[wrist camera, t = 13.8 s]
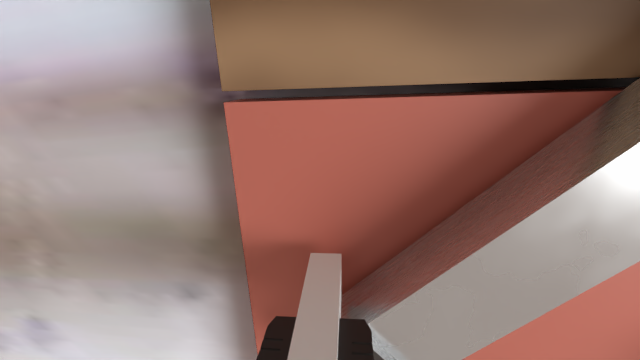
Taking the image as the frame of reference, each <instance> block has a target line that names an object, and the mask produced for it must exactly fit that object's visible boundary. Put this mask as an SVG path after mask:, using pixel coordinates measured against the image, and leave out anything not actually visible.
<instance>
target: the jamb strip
mask: <svg viewBox="0 0 640 360" xmlns="http://www.w3.org/2000/svg"><path fill="white" fill-rule="evenodd" d="M210 6H211V13H212V21H213V28H214V35H215V43H216V50H217V58H218V65H219V72H220V80H221V87H222V91H244V90H274V89H303V88H333V87H363V86H393V85H423V84H452V83H482V82H512V81H542V80H572V79H601V78H631V77H640V0H210Z"/></svg>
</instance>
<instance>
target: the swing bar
mask: <svg viewBox="0 0 640 360" xmlns="http://www.w3.org/2000/svg"><path fill="white" fill-rule="evenodd" d="M639 261H640V78H639V79H637V80H636V81H635V82H633V83H632V84H631V85H629V86H628V87H626V88H625V89H624V90H622V91H621V92H620V93H618V94H617V95H616V96H614V97H613V98H611V99H610V100H609V101H607V102H606V103H605V104H603V105H602V106H600V107H599V108H598V109H596V110H595V111H594V112H592V113H591V114H589V115H588V116H587V117H585V118H584V119H583V120H581V121H580V122H579V123H577V124H576V125H574V126H573V127H572V128H570V129H569V130H568V131H566V132H565V133H563V134H562V135H561V136H559V137H558V138H557V139H555V140H554V141H552V142H551V143H550V144H548V145H547V146H546V147H544V148H543V149H541V150H540V151H539V152H537V153H536V154H535V155H533V156H532V157H531V158H529V159H528V160H526V161H525V162H524V163H522V164H521V165H520V166H518V167H517V168H515V169H514V170H513V171H511V172H510V173H509V174H507V175H506V176H504V177H503V178H502V179H500V180H499V181H498V182H496V183H495V184H494V185H492V186H491V187H489V188H488V189H487V190H485V191H484V192H483V193H481V194H480V195H478V196H477V197H476V198H474V199H473V200H472V201H470V202H469V203H467V204H466V205H465V206H463V207H462V208H461V209H459V210H458V211H457V212H455V213H454V214H452V215H451V216H450V217H448V218H447V219H446V220H444V221H443V222H441V223H440V224H439V225H437V226H436V227H435V228H433V229H432V230H430V231H429V232H428V233H426V234H425V235H424V236H422V237H421V238H420V239H418V240H417V241H415V242H414V243H413V244H411V245H410V246H409V247H407V248H406V249H404V250H403V251H402V252H400V253H399V254H398V255H396V256H395V257H393V258H392V259H391V260H389V261H388V262H387V263H385V264H384V265H382V266H381V267H380V268H378V269H377V270H376V271H374V272H373V273H372V274H370V275H369V276H367V277H366V278H365V279H363V280H362V281H361V282H359V283H358V284H356V285H355V286H354V287H352V288H351V289H350V290H348V291H347V292H345V293H344V294H343V295H342V306H341V318H345V319H365V320H366V322H367V324H368V326H369V327H370V329H371V333H372V346H373V356H374V360H462V359H464V358H466V357H467V356H469V355H471V354H473V353H475V352H477V351H478V350H480V349H482V348H484V347H486V346H487V345H489V344H491V343H493V342H495V341H496V340H498V339H500V338H502V337H504V336H505V335H507V334H509V333H511V332H513V331H514V330H516V329H518V328H520V327H522V326H524V325H525V324H527V323H529V322H531V321H533V320H534V319H536V318H538V317H540V316H542V315H543V314H545V313H547V312H549V311H551V310H552V309H554V308H556V307H558V306H560V305H561V304H563V303H565V302H567V301H569V300H571V299H572V298H574V297H576V296H578V295H580V294H581V293H583V292H585V291H587V290H589V289H590V288H592V287H594V286H596V285H598V284H599V283H601V282H603V281H605V280H607V279H608V278H610V277H612V276H614V275H616V274H618V273H619V272H621V271H623V270H625V269H627V268H628V267H630V266H632V265H634V264H636V263H637V262H639Z"/></svg>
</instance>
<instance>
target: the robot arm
mask: <svg viewBox="0 0 640 360" xmlns="http://www.w3.org/2000/svg"><path fill="white" fill-rule="evenodd" d="M341 306H342V265H341V254H335V253H311V254H310V258H309V263H308V267H307V272H306V276H305V281H304V285H303V290H302V294H301V299H300V304H299V308H298V313H297V317H287V316H276V317H275V318H274V319H273V320H272V321H271V322H270V324H269V325H268V326H267V329H266V332H265V335H264V340H263V341H262V344H261V347H260V350H259V353H258V356H257V360H374V356H373V346H372V333H371V329H370V327H369V326H368V324H367V322H366V320H365V319H345V318H341Z"/></svg>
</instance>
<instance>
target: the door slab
mask: <svg viewBox="0 0 640 360" xmlns="http://www.w3.org/2000/svg"><path fill="white" fill-rule="evenodd" d="M625 88H626V87H618V88H585V89H552V90H520V91H487V92H455V93H422V94H390V95H357V96H324V97H292V98H259V99H240V100H234V101H229V102H224V109H225V117H226V124H227V132H228V139H229V146H230V154H231V161H232V168H233V176H234V183H235V191H236V198H237V205H238V213H239V220H240V228H241V235H242V242H243V250H244V257H245V264H246V272H247V279H248V287H249V294H250V301H251V309H252V316H253V324H254V331H255V338H256V346H257V353H259V350H260V347H261V344H262V341H263V340H264V335H265V332H266V329H267V326H268V325H269V324H270V322H271V321H272V320H273V319H274V318H275V317H276V316H287V317H297V313H298V308H299V304H300V299H301V294H302V290H303V285H304V281H305V276H306V272H307V267H308V263H309V258H310V254H311V253H335V254H341V265H342V295H343V294H344V293H345V292H347V291H348V290H350V289H351V288H352V287H354V286H355V285H356V284H358V283H359V282H361V281H362V280H363V279H365V278H366V277H367V276H369V275H370V274H372V273H373V272H374V271H376V270H377V269H378V268H380V267H381V266H382V265H384V264H385V263H387V262H388V261H389V260H391V259H392V258H393V257H395V256H396V255H398V254H399V253H400V252H402V251H403V250H404V249H406V248H407V247H409V246H410V245H411V244H413V243H414V242H415V241H417V240H418V239H420V238H421V237H422V236H424V235H425V234H426V233H428V232H429V231H430V230H432V229H433V228H435V227H436V226H437V225H439V224H440V223H441V222H443V221H444V220H446V219H447V218H448V217H450V216H451V215H452V214H454V213H455V212H457V211H458V210H459V209H461V208H462V207H463V206H465V205H466V204H467V203H469V202H470V201H472V200H473V199H474V198H476V197H477V196H478V195H480V194H481V193H483V192H484V191H485V190H487V189H488V188H489V187H491V186H492V185H494V184H495V183H496V182H498V181H499V180H500V179H502V178H503V177H504V176H506V175H507V174H509V173H510V172H511V171H513V170H514V169H515V168H517V167H518V166H520V165H521V164H522V163H524V162H525V161H526V160H528V159H529V158H531V157H532V156H533V155H535V154H536V153H537V152H539V151H540V150H541V149H543V148H544V147H546V146H547V145H548V144H550V143H551V142H552V141H554V140H555V139H557V138H558V137H559V136H561V135H562V134H563V133H565V132H566V131H568V130H569V129H570V128H572V127H573V126H574V125H576V124H577V123H579V122H580V121H581V120H583V119H584V118H585V117H587V116H588V115H589V114H591V113H592V112H594V111H595V110H596V109H598V108H599V107H600V106H602V105H603V104H605V103H606V102H607V101H609V100H610V99H611V98H613V97H614V96H616V95H617V94H618V93H620V92H621V91H622V90H624V89H625ZM462 360H640V261H639V262H637V263H636V264H634V265H632V266H630V267H628V268H627V269H625V270H623V271H621V272H619V273H618V274H616V275H614V276H612V277H610V278H608V279H607V280H605V281H603V282H601V283H599V284H598V285H596V286H594V287H592V288H590V289H589V290H587V291H585V292H583V293H581V294H580V295H578V296H576V297H574V298H572V299H571V300H569V301H567V302H565V303H563V304H561V305H560V306H558V307H556V308H554V309H552V310H551V311H549V312H547V313H545V314H543V315H542V316H540V317H538V318H536V319H534V320H533V321H531V322H529V323H527V324H525V325H524V326H522V327H520V328H518V329H516V330H514V331H513V332H511V333H509V334H507V335H505V336H504V337H502V338H500V339H498V340H496V341H495V342H493V343H491V344H489V345H487V346H486V347H484V348H482V349H480V350H478V351H477V352H475V353H473V354H471V355H469V356H467V357H466V358H464V359H462Z"/></svg>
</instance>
